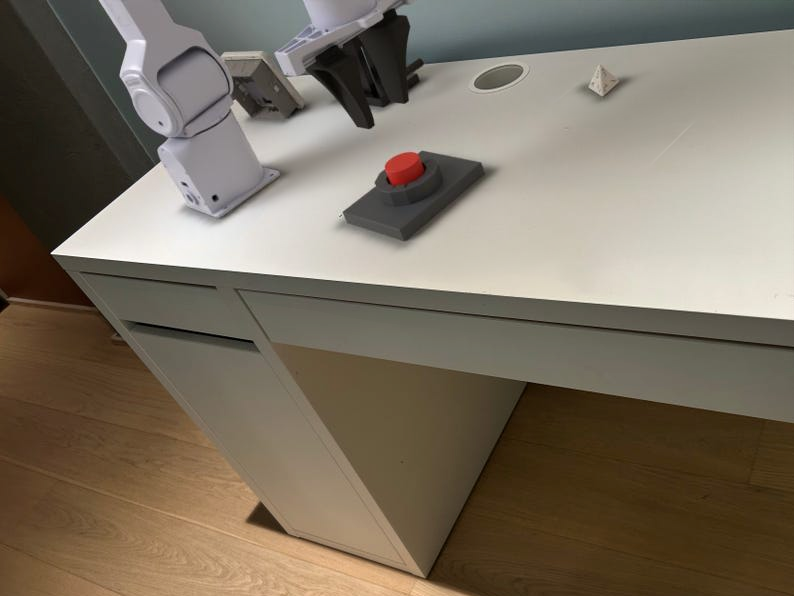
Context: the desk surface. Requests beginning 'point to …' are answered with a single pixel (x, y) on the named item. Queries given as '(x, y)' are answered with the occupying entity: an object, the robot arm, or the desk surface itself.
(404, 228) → the button box
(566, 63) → the desk surface
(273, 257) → the desk surface
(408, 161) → the button
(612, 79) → the tetrahedral die
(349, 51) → the bracket
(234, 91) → the electrical switch
